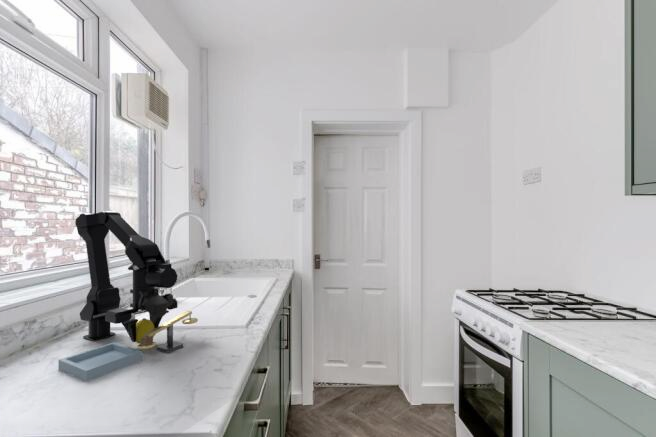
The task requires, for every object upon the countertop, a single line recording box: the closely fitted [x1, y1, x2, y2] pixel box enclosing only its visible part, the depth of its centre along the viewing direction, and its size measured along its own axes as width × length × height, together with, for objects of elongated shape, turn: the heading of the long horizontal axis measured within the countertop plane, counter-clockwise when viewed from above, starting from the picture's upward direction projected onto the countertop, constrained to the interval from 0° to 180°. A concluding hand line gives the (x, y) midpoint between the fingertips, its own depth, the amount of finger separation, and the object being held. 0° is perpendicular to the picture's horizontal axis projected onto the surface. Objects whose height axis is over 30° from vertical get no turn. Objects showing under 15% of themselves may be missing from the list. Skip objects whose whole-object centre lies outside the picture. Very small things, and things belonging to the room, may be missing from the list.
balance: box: [137, 310, 199, 354], centre depth 93 cm, size 5×18×9 cm, turn 152°
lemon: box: [136, 318, 155, 345], centre depth 95 cm, size 6×6×8 cm
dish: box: [57, 341, 143, 383], centre depth 83 cm, size 13×13×2 cm
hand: (143, 338), depth 95 cm, fingers closed on lemon, 5 cm apart
